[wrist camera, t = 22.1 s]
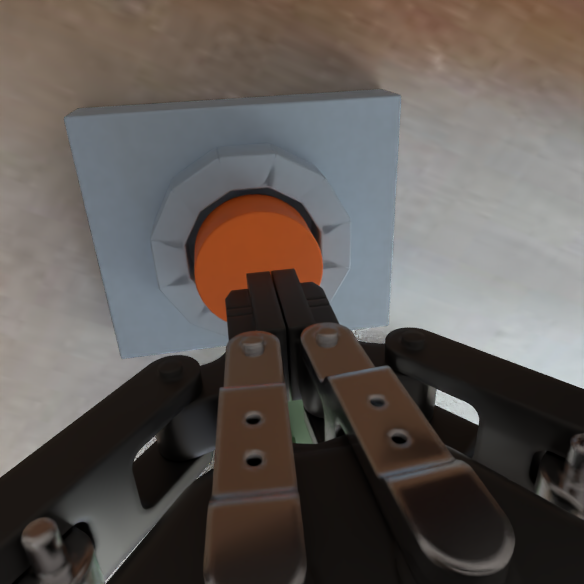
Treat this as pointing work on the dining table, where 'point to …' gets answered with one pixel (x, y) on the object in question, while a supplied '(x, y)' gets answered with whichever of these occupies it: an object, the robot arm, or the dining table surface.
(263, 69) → the dining table surface
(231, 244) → the button
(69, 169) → the dining table surface
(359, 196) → the grey piece
